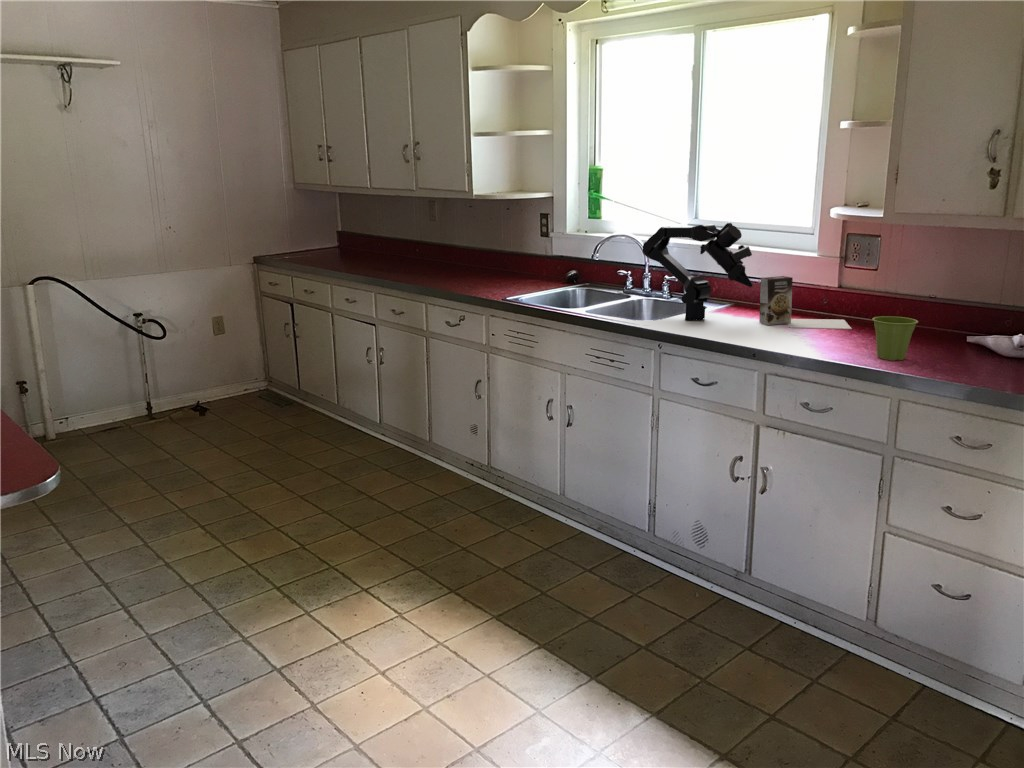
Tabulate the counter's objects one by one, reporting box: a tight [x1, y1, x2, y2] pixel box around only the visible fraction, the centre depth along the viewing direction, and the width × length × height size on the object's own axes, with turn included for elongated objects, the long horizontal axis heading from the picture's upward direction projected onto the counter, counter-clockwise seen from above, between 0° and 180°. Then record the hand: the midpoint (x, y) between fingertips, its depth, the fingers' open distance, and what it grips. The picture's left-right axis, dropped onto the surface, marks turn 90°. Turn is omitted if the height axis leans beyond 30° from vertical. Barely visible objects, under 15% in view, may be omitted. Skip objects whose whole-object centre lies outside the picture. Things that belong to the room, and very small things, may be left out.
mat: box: [786, 318, 853, 330], centre depth 284 cm, size 20×16×1 cm
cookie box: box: [759, 275, 793, 326], centre depth 285 cm, size 9×6×16 cm
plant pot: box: [871, 315, 919, 361], centre depth 232 cm, size 12×12×11 cm
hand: (751, 286), depth 285 cm, fingers closed
